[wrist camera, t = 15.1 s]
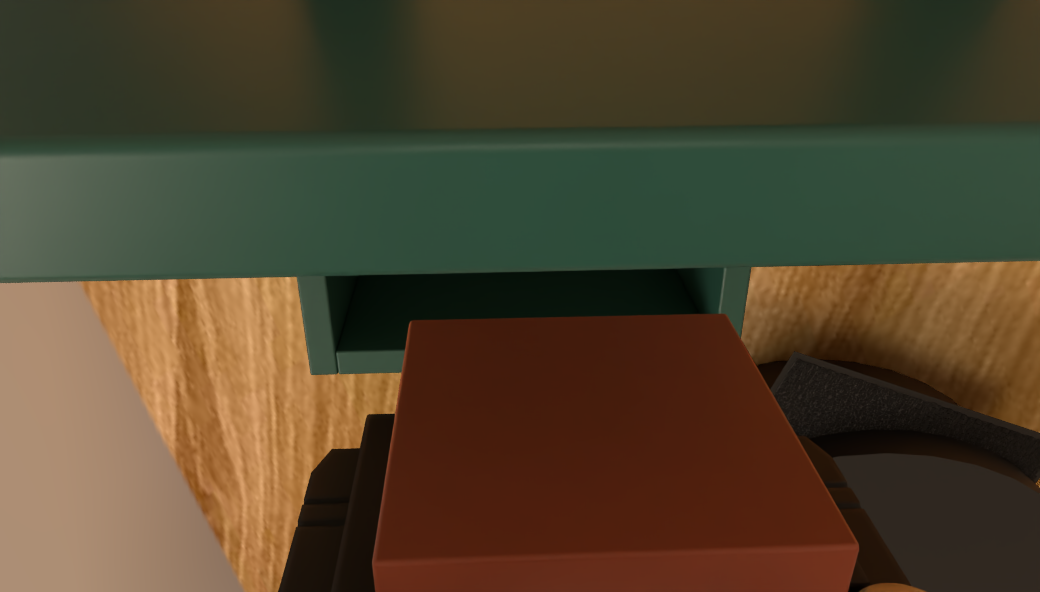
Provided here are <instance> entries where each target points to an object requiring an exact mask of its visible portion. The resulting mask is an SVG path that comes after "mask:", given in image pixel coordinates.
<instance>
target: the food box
mask: <svg viewBox="0 0 1040 592" xmlns="http://www.w3.org/2000/svg"><path fill="white" fill-rule="evenodd" d="M750 273H751V267H726V268H679V269H632V270H586V271H539V272H492V273H445V274H398V275H351V276H304V277H297V282H298V289H299V296H300V303H301V310H302V317H303V324H304V331H305V338H306V345H307V352H308V359H309V366H310V373H311V375H328V374H337V373H338V372H339V374H362V373H399V372H402V367H403V361H404V354H405V348H406V341H407V335H408V328H409V324H410V322H411V321H413V320H453V319H499V318H545V317H590V316H636V315H681V314H726V315H727V316H728V318H729V319H730V321H731V323H732V325H733V326H734V328H735V330H736V332H737V333H738V335H739V337H740V339H741V333H742V326H743V320H744V313H745V306H746V300H747V293H748V286H749V280H750Z"/></svg>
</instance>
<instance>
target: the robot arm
mask: <svg viewBox="0 0 1040 592" xmlns="http://www.w3.org/2000/svg"><path fill="white" fill-rule="evenodd" d="M394 418H395V414H369V415H367V418H366V422H365V427H364V431H363V436H362V441H361V446H360V448H356V449H332V450H331V451H330V452H329V453H328V454H327V455H326V457H325V458H324V459H323V460H322V461H321V462H320V463H319V465H318V466H317V467H316V468H315V469H314V470H313V471H312V473H311V476H310V480H309V483H308V487H307V490H306V494H305V498H304V505H302V508H301V512H300V516H299V519H298V527H296V530H295V534H294V537H293V541H292V544H291V548H290V552H289V555H288V559H287V562H286V566H285V570H284V573H283V577H282V580H281V584H280V588H279V591H278V592H375V585H374V576H373V568H372V559H373V553H374V547H375V540H376V534H377V527H378V521H379V515H380V508H381V502H382V495H383V489H384V482H385V476H386V470H387V463H388V457H389V450H390V444H391V438H392V431H393V425H394ZM797 438H798V439H799V441H800V443H801V445H802V446H803V448H804V450H805V451H806V453H807V455H808V457H809V458H810V460H811V462H812V464H813V465H814V467H815V469H816V471H817V472H818V474H819V476H820V478H821V479H822V481H823V483H824V484H825V486H826V488H827V490H828V491H829V493H830V495H831V497H832V498H833V500H834V502H835V504H836V505H837V507H838V509H839V511H840V512H841V514H842V516H843V517H844V519H845V521H846V523H847V524H848V526H849V528H850V530H851V531H852V533H853V535H854V537H855V538H856V540H857V542H858V544H859V552H858V555H857V559H856V563H855V567H854V570H853V574H852V578H851V582H850V585H849V589H848V592H926V591H924V590H921V589H918V588H916V587H912V586H911V584H910V582H909V581H908V579H907V577H906V576H905V574H904V573H903V571H902V569H901V568H900V566H899V565H898V563H897V561H896V560H895V558H894V556H893V555H892V553H891V552H890V550H889V548H888V547H887V545H886V544H885V542H884V540H883V539H882V537H881V535H880V534H879V532H878V531H877V529H876V527H875V526H874V524H873V523H872V521H871V519H870V518H869V516H868V514H867V513H866V511H865V510H864V509H861V505H860V504H861V503H860V502H859V500H858V498H857V497H856V495H855V493H854V492H853V490H852V489H851V488H848V482H847V481H846V479H845V477H844V476H843V474H842V472H841V471H840V469H839V468H838V466H837V464H836V463H835V461H834V460H833V458H832V457H831V456H830V455H829V454H827V453H826V452H825V451H824V450H822V449H821V448H820V447H819V446H817V445H816V444H815V443H814V442H812V441H811V440H810V439H809V438H807V437H806V436H797Z"/></svg>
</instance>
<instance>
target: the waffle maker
mask: <svg viewBox="0 0 1040 592" xmlns="http://www.w3.org/2000/svg"><path fill="white" fill-rule="evenodd" d="M757 368H758V370H759V372H760V373H761V375H762V377H763V378H764V380H765V382H766V384H767V385H768V387H769V389H770V391H771V392H772V394H773V396H774V398H775V399H776V401H777V403H778V405H779V406H780V408H781V410H782V411H783V413H784V415H785V417H786V418H787V420H788V422H789V424H790V425H791V427H792V429H793V431H794V432H795V434H796V436H806V437H807V438H809V439H810V440H811V441H812V442H814V443H815V444H816V445H817V446H819V447H820V448H821V449H822V450H824V451H825V452H826V453H827V454H829V455H830V456H831V457H832V458H833V460H834V461H835V463H836V464H837V466H838V468H839V469H840V471H841V472H842V474H843V476H844V477H845V479H846V481H847V482H848V488H851V489H852V490H853V492H854V493H855V495H856V497H857V498H858V500H859V502H860V503H861V504H860V505H861V509H864V510H865V511H866V513H867V514H868V516H869V518H870V519H871V521H872V523H873V524H874V526H875V527H876V529H877V531H878V532H879V534H880V535H881V537H882V539H883V540H884V542H885V544H886V545H887V547H888V548H889V550H890V552H891V553H892V555H893V556H894V558H895V560H896V561H897V563H898V565H899V566H900V568H901V569H902V571H903V573H904V574H905V576H906V577H907V579H908V581H909V582H910V584H911V586H912V587H916V588H918V589H921V590H924V591H926V592H1040V488H1039V487H1038V486H1037V485H1036V484H1035V483H1036V482H1037V481H1038V480H1039V478H1040V433H1038V432H1035V431H1032V430H1029V429H1026V428H1023V427H1020V426H1017V425H1014V424H1011V423H1008V422H1005V421H1002V420H999V419H996V418H993V417H990V416H987V415H984V414H981V413H978V412H975V411H972V410H969V409H966V408H963V407H960V406H959V405H957V404H956V403H955V402H954V401H953V400H952V399H950V398H949V397H947V396H945V395H944V394H942V393H940V392H939V391H937V390H935V389H934V388H932V387H930V386H929V385H927V384H925V383H923V382H921V381H918V380H916V379H913V378H910V377H908V376H905V375H903V374H900V373H898V372H895V371H892V370H889V369H884V368H879V367H875V366H870V365H866V364H861V363H857V362H848V361H834V360H821V359H816V358H813V357H810V356H807V355H804V354H801V353H798V352H795V351H794V352H793V354H792V356H791V357H790V359H789V360H788V361H777V362H772V363H767V364H762V365H757Z"/></svg>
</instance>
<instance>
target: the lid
mask: <svg viewBox="0 0 1040 592" xmlns="http://www.w3.org/2000/svg"><path fill="white" fill-rule="evenodd" d="M1008 261H1040V0H0V283H21V282H22V283H23V282H68V281H69V282H70V281H116V280H163V279H210V278H257V277H304V276H351V275H398V274H445V273H492V272H539V271H586V270H632V269H679V268H726V267H773V266H820V265H867V264H914V263H961V262H1008Z"/></svg>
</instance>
